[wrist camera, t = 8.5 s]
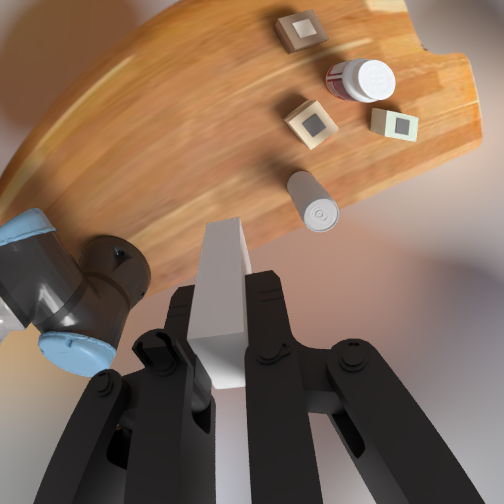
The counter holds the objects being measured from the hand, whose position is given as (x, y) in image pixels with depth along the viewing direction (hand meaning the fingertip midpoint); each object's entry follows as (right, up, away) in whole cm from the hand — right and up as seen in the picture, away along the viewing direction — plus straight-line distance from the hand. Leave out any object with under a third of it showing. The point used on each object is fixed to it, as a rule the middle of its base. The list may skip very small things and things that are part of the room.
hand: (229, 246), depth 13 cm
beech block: (+9, +19, +25) cm, 32 cm away
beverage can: (+9, +11, +30) cm, 33 cm away
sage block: (+23, +21, +24) cm, 39 cm away
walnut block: (+7, +31, +17) cm, 36 cm away
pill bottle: (+15, +26, +21) cm, 36 cm away
